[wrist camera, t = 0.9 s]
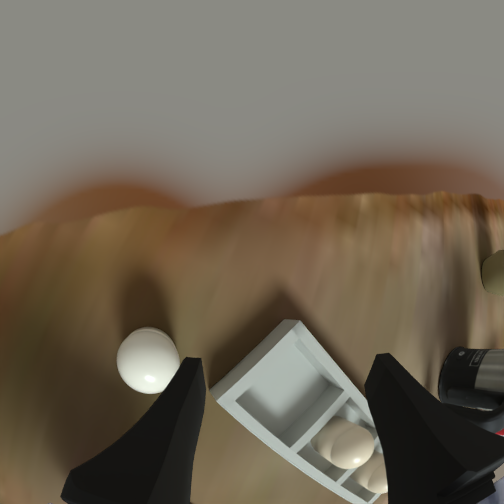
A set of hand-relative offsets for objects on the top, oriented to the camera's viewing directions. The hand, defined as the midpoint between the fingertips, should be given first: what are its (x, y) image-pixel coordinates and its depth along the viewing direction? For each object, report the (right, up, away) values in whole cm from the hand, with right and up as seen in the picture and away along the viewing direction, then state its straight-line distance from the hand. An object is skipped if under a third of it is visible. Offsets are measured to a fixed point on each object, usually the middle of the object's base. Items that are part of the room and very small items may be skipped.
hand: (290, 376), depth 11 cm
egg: (-10, -3, +10) cm, 14 cm away
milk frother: (+29, -17, +20) cm, 39 cm away
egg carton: (+6, -13, +13) cm, 20 cm away
